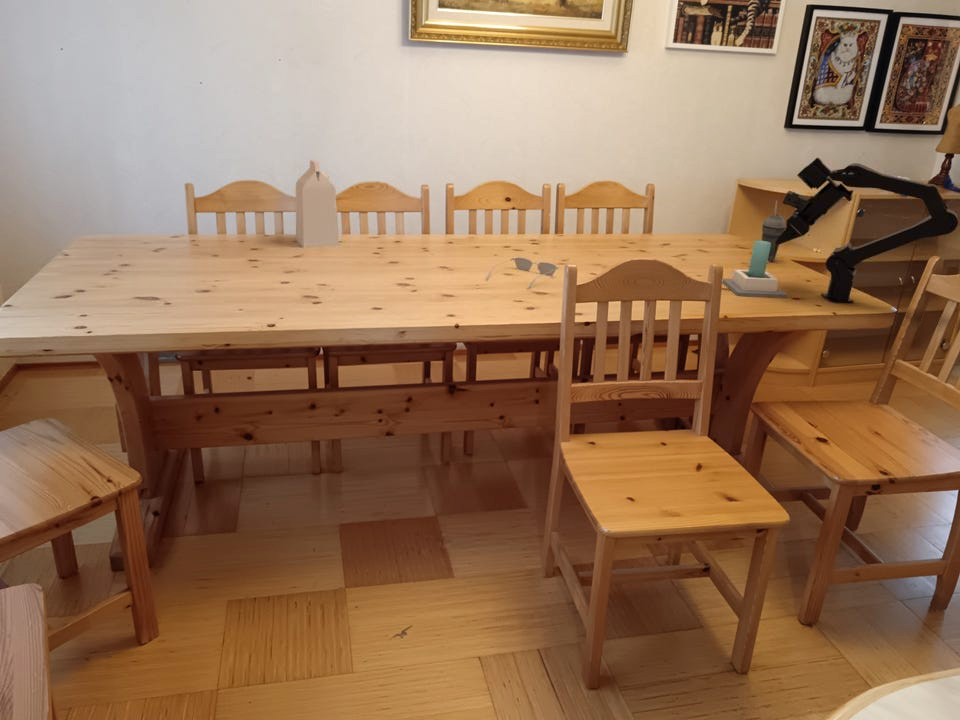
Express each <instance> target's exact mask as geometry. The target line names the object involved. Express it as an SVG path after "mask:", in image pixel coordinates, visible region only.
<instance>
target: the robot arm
mask: <svg viewBox="0 0 960 720" xmlns="http://www.w3.org/2000/svg"><path fill="white" fill-rule="evenodd" d="M796 176H797V177H798V178H799V179H800V180H801V181H802V182H803V183H804V184H805V185H806V186H807V187H808V188H809V189H810V190H813V189H815V190H819V189H820V187H822V186H823V185H824V184H825V183H826V182H827V184H825V185H824V186H823V187H822V188H821V189H820V190H819V191H818V192H816V193H815V194H814V195H811V196H810V197H806V196H804V195H801V194H799V193H797V192H795V191H791V190H788V191H787V193H786V194H785V196H784V198H783V199H782V202H781V203H782V204H783V205H785V206H786V205H788V206H790V207H791V208H795V210H794V211H793V212H792V214H791V216H789V217H788V218H787V219H786V221H785V229H784V231H783V233H782V234H781V235H780V237H779V238H778V239H777V240H776V242H775V243H776V244H777V245H779V246H780V245H782V244H784V243H787V242H789V241H793V240H795V239H797V238H801V237H804V236H805V235H806V234H807V233H808V232H810V230H811V226H813V225H815V223H816V222H818V220H820V219H821V218H822V217H823V216H825V215H826V214H827V213H828V212H829V211H830V210H831V209H832V208H834V207H835V206H836V205H837V204H838V203H839V202H841V201H842V200H843V199H844V198H845V199H846V200H847V201H849V202H851V201H852V200H853V193H854V189H850V190H849V189H848V188H858V189H859V188H860V189H878V190H882V191H885V192H891V193H895V194H899V195H903V196H908V197H912V198H915V199H920V200H923V203H924V205H925V207H926V209H927V211H928V214H929V215H928V216H926V217H924V218H923V219H921V220H920V221H919V222H916V224H913V225H910V226H909V227H905V228H903V229H900V230H897V231H895V232H892V233H891V234H887V235H885V236H882V237H880V238H877V239H874V240H871V241H869V242H866V243H864V244H862V245H858V246H856V245H855V246H852V243H851V242H849V243H846V244H845V245H843V246H841V247H836V248H835V249H834V250H833V251H832V252H831V253H830V254H829V256H828V257H827V259H826V261H825V267H826V268H825V269H827V271H828V272H829V273H830V280H829V283H828V287H827V291H826V293H821V296H822V297H824V298H825V299H827V300H828V301H830V302H835V303H854V300H853V299H851V298H850V295H851V292H852V288H853V283H854V277H855V276H856V273H857V269H856V267H855V266H857V265H858V264H860V263H861V262H864V261H865V260H867V259H870V258H873V257H876V256H877V255H881V254H884V253H886V252H890V251H892V250H894V249H897V248H900V247H902V246H904V245H907V244H910V243H912V242H916V241H919V240H923V239H928V238H929V239H931V238H937V237H940V236H945V235H948V234H949V235H950V234H951V233H953V232H954V231H955V230H956V229H957V227H958V224H959V218H958V215H957V213H956V212H955V211H954V210H953V209H950V208H948V206H947V204H946V202H945V201H944V199H943V196H941V194H940V192H939V188H938V186H937V185H936V184H933V183H924V182H920V181H915V180H911V179H908V178H903V177H897V176H894V175H890V174H885V173H882V172H879V171H877V170H874V169H873V168H871V167H868V166H866V165H865V164H861V163H858V162H857V163H856V162H853V163H851V164H848V165H846V167H844V168H840V169H835V170H831V169H830V168H829V167H828V166H827V165H825V163H824V162H823V161H822V159H820V157H816V158H815V159H814V160H813V161H811V162H810V163H809V164H808V165H806V166H804V168H803V169H801V171H799V173H798V174H797V175H796ZM836 182H839V184H838V183H836ZM845 186H846V187H845ZM847 187H848V188H847Z"/></svg>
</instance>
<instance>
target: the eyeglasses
mask: <svg viewBox="0 0 960 720" xmlns="http://www.w3.org/2000/svg"><path fill="white" fill-rule="evenodd" d="M508 261H509V262H510V261H514V262H515V267H516V268H517V270H523V271H530V270H531V269H532V266H533V264H534V265H537V271H539V273H540V274H539V275H538V276H537V277H535V278H534V279H533V280H532V282H531V283H529V285H528V286H527V288H526V289H525V290H527V291H528V290H531V288H532V286H533V284H534V282H535V281H536V280H537V279H538V278H539V277H541V276H543V275H548V276H551V277H553V275H554V274H555V272H556V270H559V266H557V265H556V264H554V263H549V262H545V261H544V262H541V261H540V262H539V263H537V262H536V261H535V262H533V261H532V260H531V259H527V258H525V257H515V258H514V257H512V258H510V259H509V260H506V261H503V262H500V263H498V264H495V265H494V266H493V267H492V268H491V270H490V271H489V273H488V275H487V276H486V278H485V281H486V282H488V281H489V279H490V276H491V273H492V271H493V270H494V269H495V267H497V266H499V265H502V264H504V263H506V262H508Z"/></svg>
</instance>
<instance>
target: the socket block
mask: <svg viewBox="0 0 960 720" xmlns="http://www.w3.org/2000/svg"><path fill="white" fill-rule="evenodd" d="M748 271H749V269H733V274H732V278H722V279H723V283H722V284H724V285H725V286H726V287H727V288H728V289H729V290H730V291H731V292H732V293H734V294H735V295H736V296H737V297H751V298H752V297H755V298H774V299H776V298H777V299H778V298H779V299H780V298H781V299H787V296H788V294H787V293H786V292H784V291H783V290H782V289H780V288H779V287H778V285H779V279H778V278H777V277H776V276H774V275H772V274H771V273H770V272H768V271H766V270H765V275H764V278H752V277H748Z"/></svg>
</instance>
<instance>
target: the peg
mask: <svg viewBox="0 0 960 720" xmlns="http://www.w3.org/2000/svg"><path fill="white" fill-rule="evenodd" d="M770 247H771V243H770V242H767V241H762V240H754V242H753V248H752V253H751V257H750V262H749V267H748V270H749V271H748V277H752V278H764V275H765V271H766V270H767V265H768V262H767V261H768V256H769V251H770Z"/></svg>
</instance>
